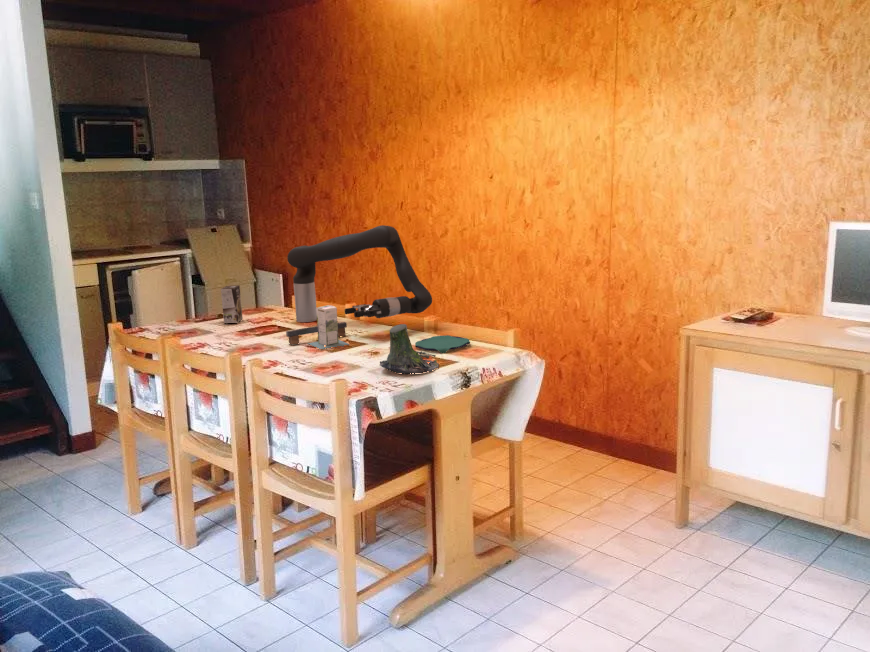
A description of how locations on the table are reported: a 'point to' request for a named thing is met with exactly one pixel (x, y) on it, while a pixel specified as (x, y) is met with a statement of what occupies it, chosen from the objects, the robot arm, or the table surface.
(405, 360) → the tree stump
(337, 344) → the slate mat
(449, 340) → the teal irregular flat slab
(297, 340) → the bar stand
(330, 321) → the syrup box
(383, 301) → the robot arm
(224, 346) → the table surface
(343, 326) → the crossbar
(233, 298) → the coffee box
